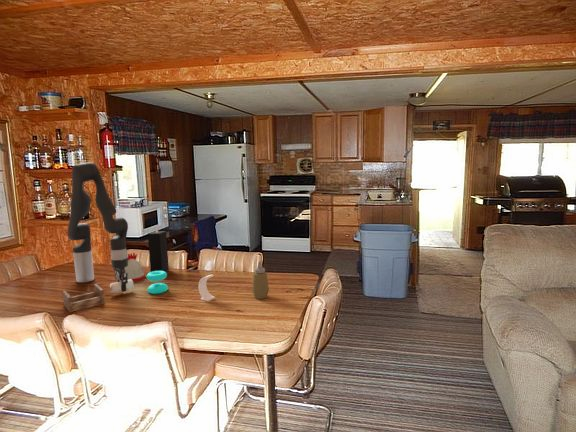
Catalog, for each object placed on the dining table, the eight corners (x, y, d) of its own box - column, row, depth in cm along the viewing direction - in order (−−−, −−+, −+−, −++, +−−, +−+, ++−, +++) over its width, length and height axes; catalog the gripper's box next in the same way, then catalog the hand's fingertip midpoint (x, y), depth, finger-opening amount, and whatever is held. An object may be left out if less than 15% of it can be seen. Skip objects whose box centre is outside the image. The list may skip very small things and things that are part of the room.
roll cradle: (69, 312, 169) (67, 297, 168) (64, 305, 178) (62, 291, 177) (104, 303, 179) (103, 289, 178) (97, 297, 188) (96, 283, 187)
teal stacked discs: (170, 272, 193) (152, 276, 186) (171, 290, 195) (153, 296, 188) (160, 268, 200) (142, 273, 193) (162, 286, 202) (144, 291, 194)
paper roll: (112, 294, 186) (111, 285, 186) (109, 292, 190) (108, 282, 189) (134, 289, 194) (134, 280, 193) (131, 286, 197) (130, 277, 197)
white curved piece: (208, 301, 179) (206, 277, 177) (199, 299, 182) (197, 275, 180) (214, 298, 182) (213, 274, 181) (205, 296, 186) (204, 272, 184)
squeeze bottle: (271, 295, 185) (270, 259, 182) (265, 301, 177) (264, 264, 175) (256, 293, 187) (255, 258, 185) (249, 299, 180) (248, 263, 177)
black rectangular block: (162, 274, 225) (159, 228, 221) (150, 273, 227) (147, 228, 223) (169, 270, 233) (165, 225, 229) (157, 269, 234) (154, 225, 230)
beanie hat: (149, 277, 220) (147, 252, 218) (129, 283, 209) (126, 257, 206) (135, 273, 228) (133, 249, 225) (114, 280, 216) (111, 254, 214)
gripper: (107, 256, 192) (110, 288, 195) (116, 261, 181) (119, 295, 184) (122, 253, 197) (125, 284, 200) (131, 258, 186) (134, 291, 189)
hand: (122, 289), depth 192 cm, fingers closed on paper roll, 5 cm apart
